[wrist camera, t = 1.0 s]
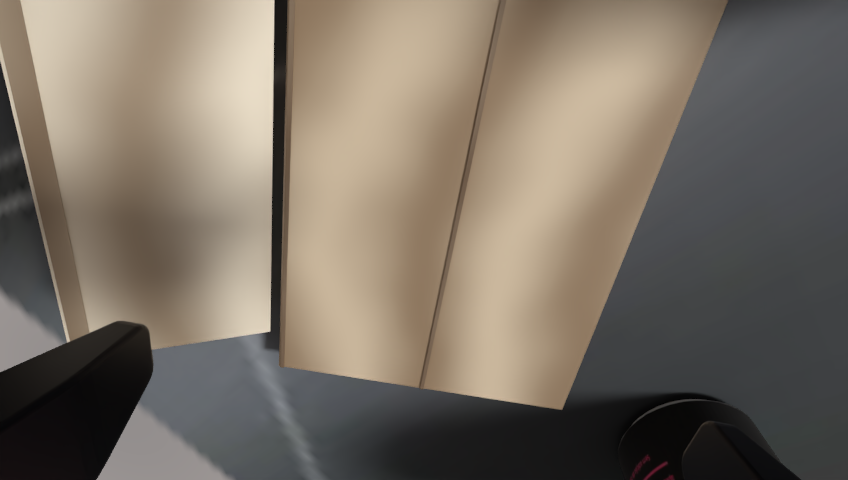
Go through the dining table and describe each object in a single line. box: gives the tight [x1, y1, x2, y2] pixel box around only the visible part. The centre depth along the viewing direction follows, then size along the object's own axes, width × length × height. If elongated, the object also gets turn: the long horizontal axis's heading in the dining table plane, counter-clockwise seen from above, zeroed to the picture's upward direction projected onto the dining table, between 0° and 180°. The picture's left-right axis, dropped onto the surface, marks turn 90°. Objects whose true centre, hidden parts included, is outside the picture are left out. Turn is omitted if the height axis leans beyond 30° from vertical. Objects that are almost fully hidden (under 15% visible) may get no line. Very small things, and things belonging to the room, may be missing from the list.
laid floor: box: [279, 0, 728, 410], centre depth 18 cm, size 13×20×1 cm, turn 171°
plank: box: [0, 0, 274, 349], centre depth 16 cm, size 7×16×1 cm, turn 171°
